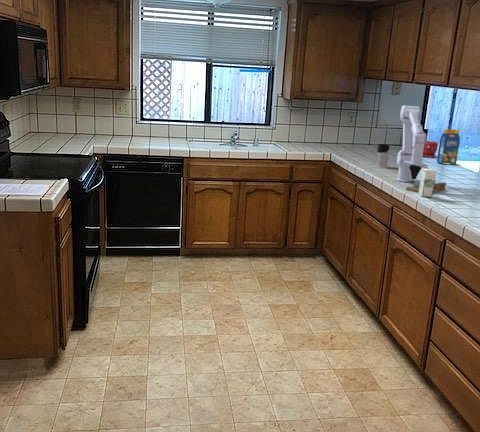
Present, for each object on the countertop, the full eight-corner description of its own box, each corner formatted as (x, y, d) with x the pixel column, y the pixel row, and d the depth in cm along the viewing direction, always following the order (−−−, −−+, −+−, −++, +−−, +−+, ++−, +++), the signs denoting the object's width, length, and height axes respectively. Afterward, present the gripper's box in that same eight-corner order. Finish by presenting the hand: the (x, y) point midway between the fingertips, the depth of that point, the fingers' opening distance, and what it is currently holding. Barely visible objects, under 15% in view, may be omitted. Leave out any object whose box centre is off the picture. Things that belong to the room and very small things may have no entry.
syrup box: (428, 194, 275) (432, 168, 271) (432, 197, 269) (436, 170, 265) (417, 194, 275) (421, 167, 271) (421, 197, 269) (425, 169, 265)
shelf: (429, 186, 297) (430, 179, 296) (444, 189, 290) (446, 182, 289) (406, 189, 284) (407, 182, 283) (421, 193, 277) (422, 186, 276)
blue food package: (456, 164, 378) (461, 130, 371) (441, 164, 376) (446, 129, 369) (451, 163, 384) (456, 129, 377) (436, 162, 382) (441, 128, 375)
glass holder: (388, 168, 348) (390, 146, 344) (366, 166, 351) (369, 144, 347) (387, 166, 356) (390, 144, 352) (366, 164, 359) (368, 143, 355)
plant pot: (438, 157, 410) (441, 142, 406) (431, 158, 400) (434, 143, 397) (423, 154, 418) (425, 140, 415) (415, 156, 409) (417, 141, 406)
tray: (426, 184, 293) (428, 176, 292) (434, 186, 289) (435, 177, 288) (414, 186, 286) (415, 178, 284) (421, 188, 282) (423, 179, 281)
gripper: (401, 153, 292) (398, 177, 295) (424, 157, 281) (420, 181, 284) (409, 152, 296) (406, 176, 300) (431, 156, 285) (428, 180, 289)
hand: (413, 178), depth 292 cm, fingers closed
